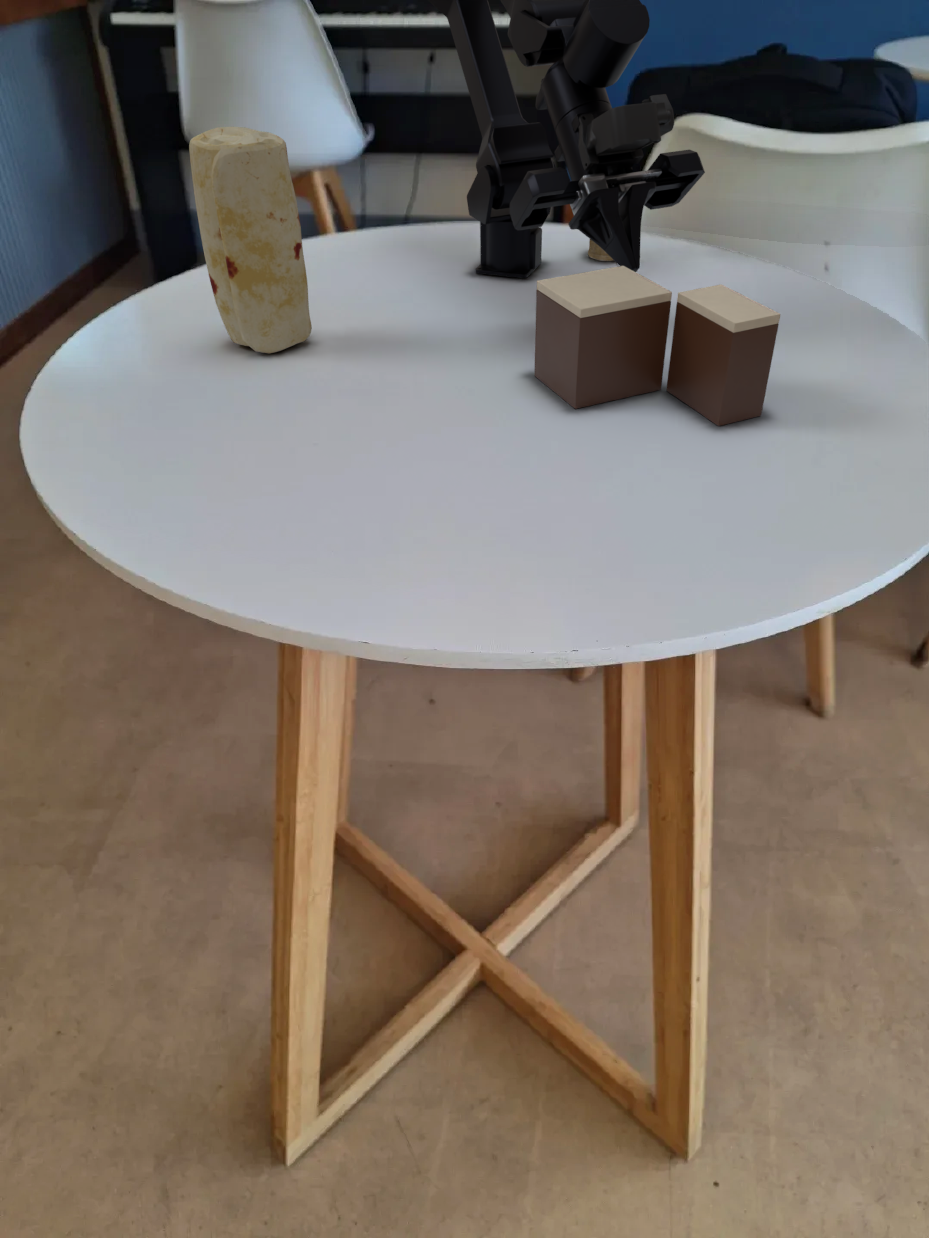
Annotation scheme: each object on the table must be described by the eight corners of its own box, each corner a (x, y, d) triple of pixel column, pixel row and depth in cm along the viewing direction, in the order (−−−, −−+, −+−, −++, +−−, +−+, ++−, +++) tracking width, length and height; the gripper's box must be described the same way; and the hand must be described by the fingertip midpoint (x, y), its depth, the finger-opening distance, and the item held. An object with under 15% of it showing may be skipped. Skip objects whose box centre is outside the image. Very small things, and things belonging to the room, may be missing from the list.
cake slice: (666, 390, 85) (677, 292, 80) (707, 381, 87) (721, 284, 81) (718, 426, 80) (735, 323, 74) (761, 415, 81) (780, 313, 75)
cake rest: (534, 375, 89) (536, 280, 83) (615, 358, 91) (623, 265, 86) (575, 409, 83) (580, 309, 77) (661, 389, 86) (672, 291, 80)
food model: (319, 331, 99) (294, 121, 86) (308, 357, 93) (279, 136, 81) (228, 332, 99) (190, 123, 87) (212, 357, 94) (169, 138, 82)
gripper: (525, 71, 80) (581, 240, 79) (707, 53, 85) (762, 210, 84) (486, 152, 90) (536, 302, 89) (651, 131, 96) (699, 272, 95)
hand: (634, 271), depth 89 cm, fingers closed
